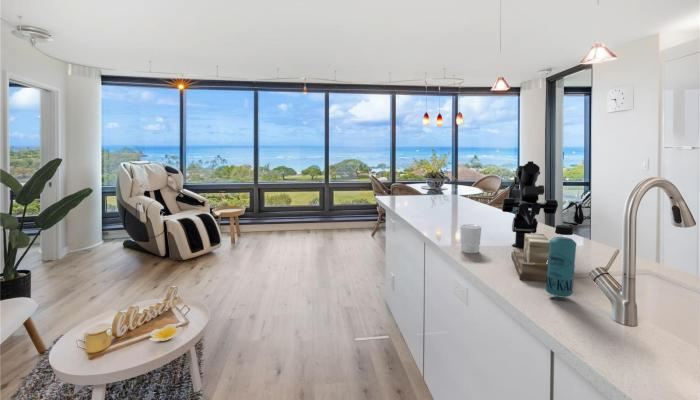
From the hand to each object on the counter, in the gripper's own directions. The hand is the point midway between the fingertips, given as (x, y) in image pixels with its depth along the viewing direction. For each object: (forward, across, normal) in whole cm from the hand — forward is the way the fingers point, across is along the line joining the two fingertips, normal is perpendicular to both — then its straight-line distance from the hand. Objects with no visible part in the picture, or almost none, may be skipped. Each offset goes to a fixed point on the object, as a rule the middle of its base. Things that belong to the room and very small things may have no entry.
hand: (530, 224), depth 139 cm
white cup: (+7, -21, +11) cm, 25 cm away
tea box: (+18, 0, -3) cm, 19 cm away
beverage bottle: (+37, +2, -19) cm, 42 cm away
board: (+19, 0, -1) cm, 19 cm away
